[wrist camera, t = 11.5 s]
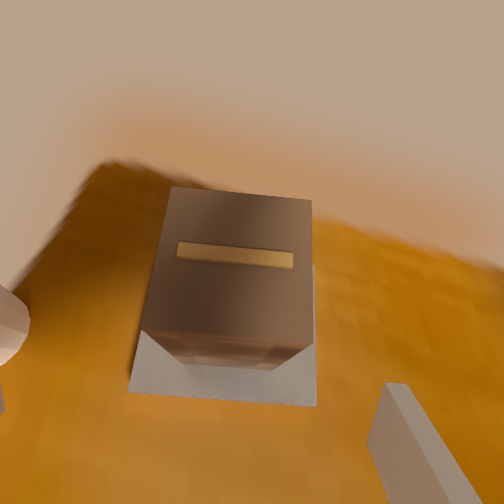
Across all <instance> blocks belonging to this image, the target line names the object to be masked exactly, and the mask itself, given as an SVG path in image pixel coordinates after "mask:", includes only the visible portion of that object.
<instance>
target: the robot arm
mask: <svg viewBox="0 0 504 504" xmlns="http://www.w3.org/2000/svg"><path fill="white" fill-rule="evenodd" d="M4 411H5V406H4V400H3V395H2V390H1V384H0V415H1V414H2V413H3V412H4ZM367 445H368V447H369V450H370V453H371V455H372V458H373V461H374V463H375V466H376V469H377V471H378V474H379V477H380V479H381V482H382V485H383V487H384V490H385V493H386V495H387V498H388V501H389V503H390V504H483V503H482V501H481V500H480V498H479V497H478V495H477V494H476V492H475V490H474V489H473V487H472V486H471V484H470V483H469V481H468V479H467V478H466V476H465V475H464V473H463V472H462V470H461V468H460V467H459V465H458V464H457V462H456V461H455V459H454V457H453V456H452V454H451V453H450V451H449V450H448V448H447V446H446V445H445V443H444V442H443V440H442V439H441V437H440V435H439V434H438V432H437V431H436V429H435V428H434V426H433V424H432V423H431V421H430V420H429V418H428V417H427V415H426V413H425V412H424V410H423V409H422V407H421V406H420V404H419V402H418V401H417V399H416V398H415V396H414V395H413V393H412V391H411V390H410V388H409V387H408V385H407V384H399V383H389V382H385V383H384V387H383V390H382V393H381V397H380V400H379V403H378V407H377V410H376V413H375V417H374V420H373V423H372V427H371V430H370V433H369V437H368V440H367Z"/></svg>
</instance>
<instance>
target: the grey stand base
mask: <svg viewBox="0 0 504 504" xmlns="http://www.w3.org/2000/svg"><path fill="white" fill-rule="evenodd" d="M312 270H313V337H314V343H313V344H311V345H310V346H308V347H307V348H305V349H304V350H302V351H301V352H299V353H298V354H296V355H295V356H293V357H292V358H290V359H289V360H287V361H286V362H284V363H283V364H281V365H280V366H278V367H277V368H275V369H274V370H272V371H267V370H255V369H243V368H231V367H219V366H206V365H194V364H182V363H180V362H179V361H178V360H177V359H175V358H174V357H173V356H172V355H171V354H169V353H168V352H167V351H166V350H165V349H164V348H162V347H161V346H160V345H159V344H158V343H157V342H155V341H154V340H153V339H152V338H151V337H149V336H148V335H147V334H146V333H145V332H144V331H142V330H141V333H140V338H139V342H138V347H137V351H136V356H135V360H134V365H133V369H132V374H131V378H130V383H129V387H128V392H130V393H142V394H155V395H167V396H180V397H193V398H206V399H219V400H231V401H244V402H257V403H270V404H283V405H295V406H308V407H317V394H316V338H315V281H314V264H312Z"/></svg>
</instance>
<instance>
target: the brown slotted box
mask: <svg viewBox="0 0 504 504" xmlns="http://www.w3.org/2000/svg"><path fill="white" fill-rule="evenodd" d="M140 329H141V330H142V331H144V332H145V333H146V334H147V335H148V336H149V337H151V338H152V339H153V340H154V341H155V342H157V343H158V344H159V345H160V346H161V347H162V348H164V349H165V350H166V351H167V352H168V353H169V354H171V355H172V356H173V357H174V358H175V359H177V360H178V361H179V362H180V363H182V364H194V365H206V366H219V367H231V368H243V369H255V370H267V371H272V370H274V369H275V368H277V367H278V366H280V365H281V364H283V363H284V362H286V361H287V360H289V359H290V358H292V357H293V356H295V355H296V354H298V353H299V352H301V351H302V350H304V349H305V348H307V347H308V346H310V345H311V344H313V343H314V337H313V270H312V203H311V200H303V199H294V198H284V197H274V196H265V195H255V194H245V193H235V192H226V191H216V190H206V189H197V188H187V187H177V186H171V191H170V195H169V199H168V204H167V208H166V213H165V217H164V222H163V226H162V231H161V235H160V240H159V244H158V248H157V253H156V257H155V262H154V266H153V271H152V275H151V280H150V284H149V288H148V293H147V297H146V302H145V306H144V311H143V315H142V320H141V324H140Z"/></svg>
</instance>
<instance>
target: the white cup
mask: <svg viewBox="0 0 504 504" xmlns="http://www.w3.org/2000/svg"><path fill="white" fill-rule="evenodd" d="M30 321H31V319H30V315H29V312H28V308H27V306H26V305H25V304H24V303H23V302H22V301H21V300H20V299H19V298H18V297H16V296H15V295H14V294H12V293H11V292H9V291H8V290H7V289H5V288H4V287H2V286H1V285H0V366H1V365H3V364H5V363H6V362H7V361H8V360H9V359H10V358H11V357H12V356H13V355H14V354H16V353H17V352H18V351H19V349H20V348H21V346H22V344H23V343H24V341H25V339H26V338H27V336H28V332H29V326H30Z"/></svg>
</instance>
